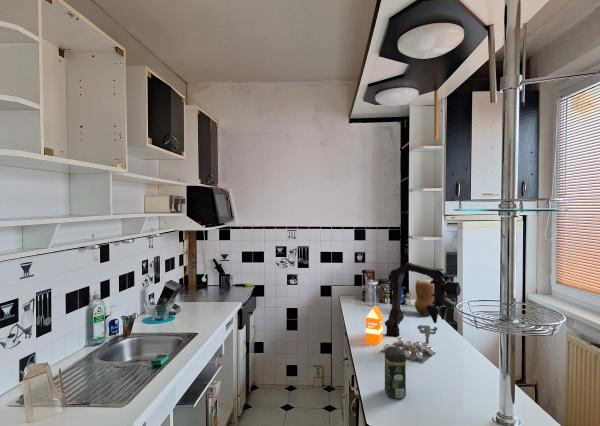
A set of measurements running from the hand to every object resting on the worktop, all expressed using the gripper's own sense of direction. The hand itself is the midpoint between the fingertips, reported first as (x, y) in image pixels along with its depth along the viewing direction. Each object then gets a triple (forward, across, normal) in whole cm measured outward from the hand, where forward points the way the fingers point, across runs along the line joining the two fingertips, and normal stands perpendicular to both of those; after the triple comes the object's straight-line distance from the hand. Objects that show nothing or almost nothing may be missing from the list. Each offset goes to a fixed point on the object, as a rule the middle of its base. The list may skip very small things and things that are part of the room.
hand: (439, 321), depth 205 cm
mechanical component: (+15, 0, +7) cm, 16 cm away
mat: (+14, -19, +8) cm, 25 cm away
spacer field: (+14, -19, +8) cm, 25 cm away
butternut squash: (+15, +51, +33) cm, 62 cm away
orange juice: (+15, -17, +30) cm, 37 cm away
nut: (+14, -18, +5) cm, 24 cm away
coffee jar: (+14, -61, -9) cm, 63 cm away
